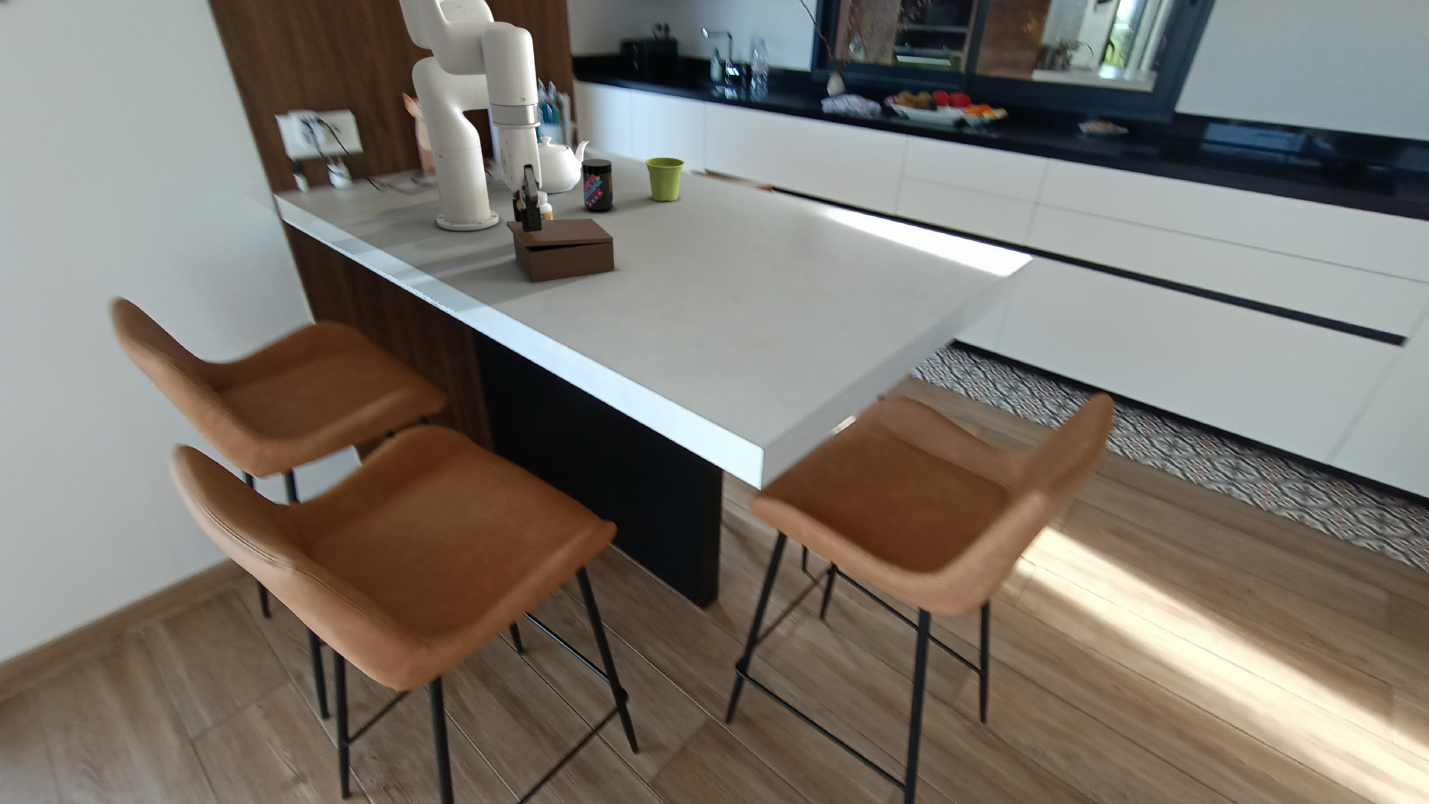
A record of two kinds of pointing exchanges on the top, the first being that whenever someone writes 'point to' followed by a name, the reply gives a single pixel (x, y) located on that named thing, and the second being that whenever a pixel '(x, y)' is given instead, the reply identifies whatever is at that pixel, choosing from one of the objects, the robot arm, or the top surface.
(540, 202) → the supplement bottle
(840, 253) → the top surface
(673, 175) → the plant pot
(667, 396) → the top surface
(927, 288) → the top surface
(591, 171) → the supplement container
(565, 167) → the teapot
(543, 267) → the brown box
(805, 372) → the top surface
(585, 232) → the brown drawer front
